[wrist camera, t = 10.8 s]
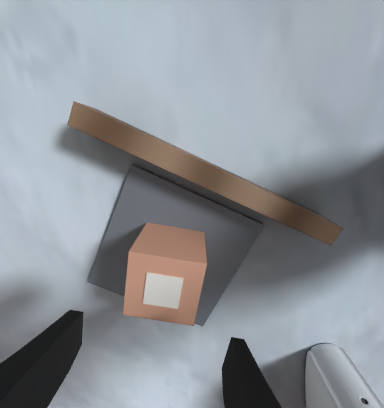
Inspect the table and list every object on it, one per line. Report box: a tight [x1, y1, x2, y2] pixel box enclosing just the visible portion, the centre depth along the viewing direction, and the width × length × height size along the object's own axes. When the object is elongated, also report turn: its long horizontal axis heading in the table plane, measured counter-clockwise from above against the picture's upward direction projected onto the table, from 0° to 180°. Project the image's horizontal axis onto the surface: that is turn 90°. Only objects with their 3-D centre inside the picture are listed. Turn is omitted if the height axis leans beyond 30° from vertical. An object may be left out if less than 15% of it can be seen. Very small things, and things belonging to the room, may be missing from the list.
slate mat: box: [88, 165, 263, 326], centre depth 19 cm, size 12×12×1 cm
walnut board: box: [67, 102, 343, 245], centre depth 16 cm, size 20×2×3 cm, turn 65°
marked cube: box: [123, 223, 207, 326], centre depth 16 cm, size 5×5×5 cm
